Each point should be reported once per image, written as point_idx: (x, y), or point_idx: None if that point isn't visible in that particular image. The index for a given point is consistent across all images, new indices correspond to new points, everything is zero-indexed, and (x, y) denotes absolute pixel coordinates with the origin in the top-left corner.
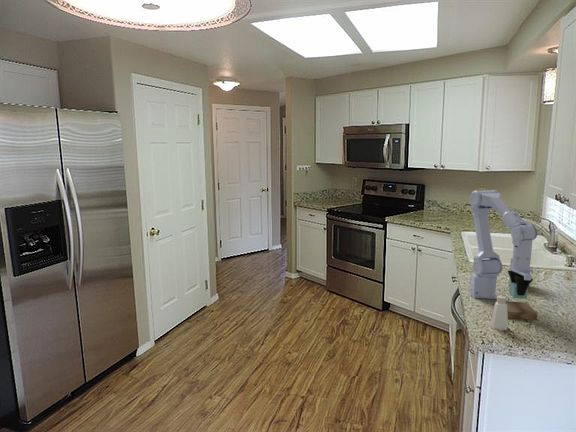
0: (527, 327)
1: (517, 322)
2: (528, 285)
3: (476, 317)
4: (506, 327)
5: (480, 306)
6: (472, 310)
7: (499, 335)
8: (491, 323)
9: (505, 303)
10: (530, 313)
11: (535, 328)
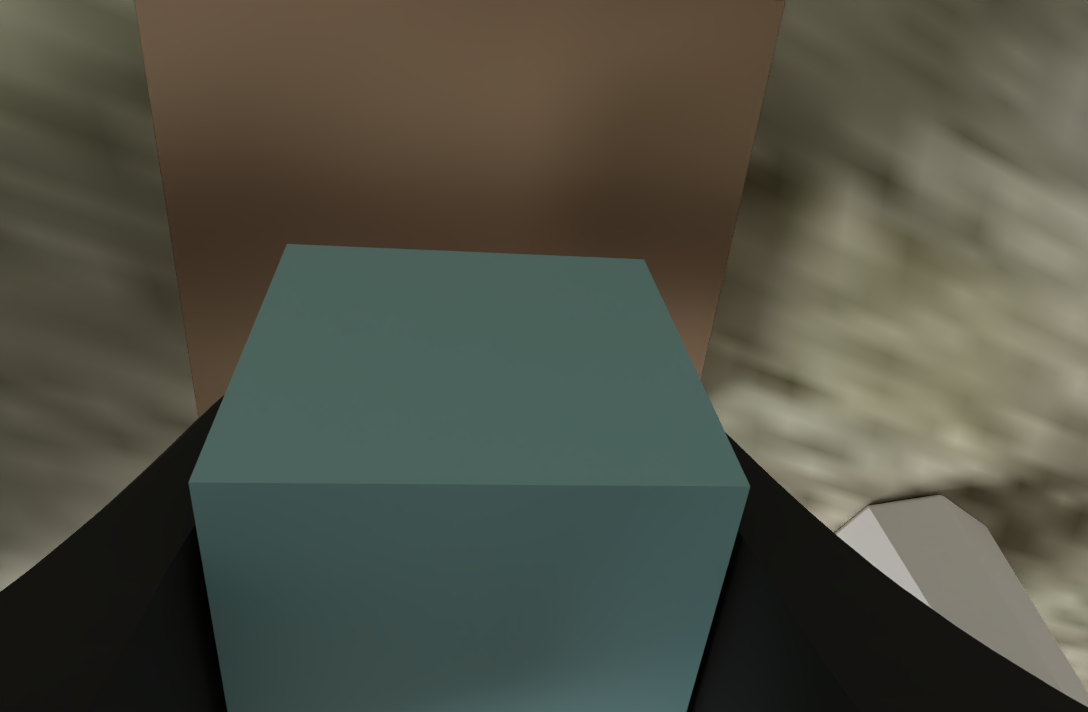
0: (977, 265)
1: (806, 332)
2: (981, 648)
3: None
4: (985, 534)
5: None
6: None
7: (1073, 604)
8: None
9: None
10: (752, 132)
11: (1033, 166)
